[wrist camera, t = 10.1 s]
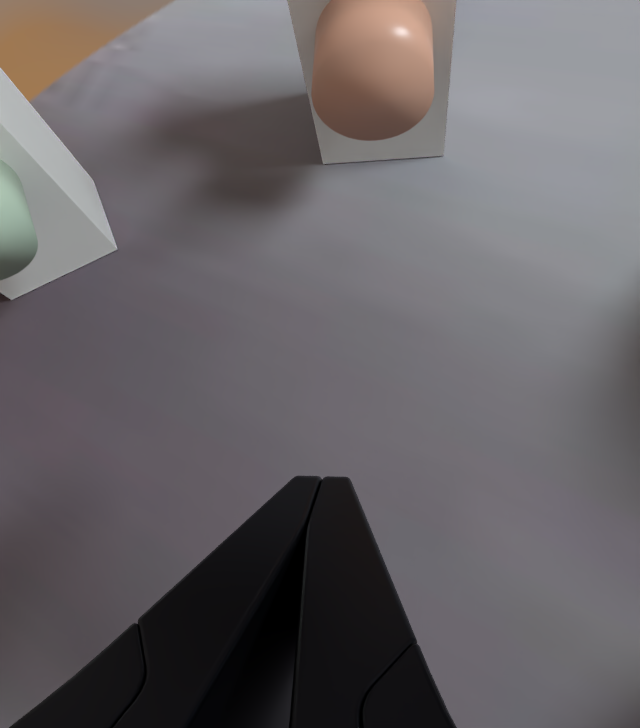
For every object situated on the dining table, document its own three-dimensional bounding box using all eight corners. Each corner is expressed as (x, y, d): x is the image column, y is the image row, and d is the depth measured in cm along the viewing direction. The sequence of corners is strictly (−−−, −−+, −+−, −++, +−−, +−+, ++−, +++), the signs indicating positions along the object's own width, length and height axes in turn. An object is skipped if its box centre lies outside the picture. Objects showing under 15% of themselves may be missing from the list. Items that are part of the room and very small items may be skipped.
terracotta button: (431, 136, 21) (437, 34, 17) (321, 144, 22) (300, 48, 18) (428, 16, 23) (432, -99, 19) (328, 28, 24) (311, -82, 20)
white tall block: (443, 155, 27) (462, -80, 17) (323, 164, 28) (275, -55, 18) (440, 78, 28) (456, -176, 19) (327, 88, 29) (285, -148, 20)
